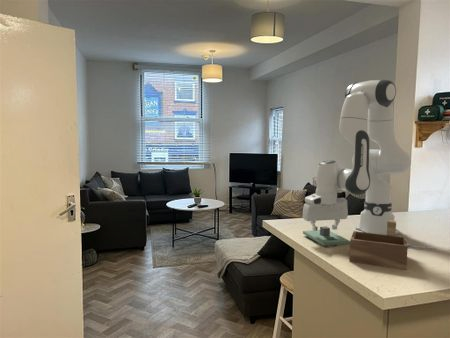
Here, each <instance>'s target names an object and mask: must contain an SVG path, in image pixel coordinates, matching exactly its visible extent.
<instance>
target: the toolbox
mask: <svg viewBox="0 0 450 338" xmlns="http://www.w3.org/2000/svg"><path fill="white" fill-rule="evenodd" d="M407 239H408V237H407V236H398V235H395V236H391V235H383V234H374V233H366V232H363V231H357V230H356V231H355V230H353V232H352V233H351V237H350V240H349V241H350V244H349V262H350V263H356V264H357V263H358V264H364V265H370V266H378V267H384V268H389V269H396V270H403V271H407V267H408V266H407V264H408V250H409V249H408V245H407V244H408V240H407Z"/></svg>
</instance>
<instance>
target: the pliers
mask: <svg viewBox="0 0 450 338" xmlns="http://www.w3.org/2000/svg"><path fill="white" fill-rule="evenodd" d="M407 245H408V250H414V249H415V250H417V251H420V250H421V248H422V249H428V248H429V249H430V250H436V249H437V248H436V247H431V246H426V245H425V246H424V245H412V244H411V243H407ZM429 249H428V250H429Z"/></svg>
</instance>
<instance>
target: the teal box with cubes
mask: <svg viewBox="0 0 450 338" xmlns="http://www.w3.org/2000/svg"><path fill="white" fill-rule="evenodd" d="M302 234H303V235H305V236H306V237H308V238H309V239H311V240H312V241H315V242H316V243H318V244H320V245H322V246H324V247H325V248H326V247H337V246H338V245H350V240H349V239H347V238H345V237H343V236H341V235H339V234H336V233H335V232H333V231H331V228H330V227H328V226H319V229H318V230H317V231H313V229H312V230H303V231H302Z"/></svg>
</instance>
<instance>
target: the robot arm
mask: <svg viewBox="0 0 450 338" xmlns="http://www.w3.org/2000/svg"><path fill="white" fill-rule="evenodd" d="M344 92H345V93H344V100H343V101H344V102H343V105H342V108H341V112H340V117H339V124H338V126H339V127H338V129H339V133H340V135H341V136H342V137H343V138H344V139H345V140H346V141H348V143H350V145H351V146H352V153H353V154H352V158H351V164H352V168H347V167H345V166H342V164H339V163H338V161H336V160H333V159H332V160H323V161H321V162H319V163H318V165H317V168H316V176H315V182H316V183H315V184H316V189H315V193H313V194H311V195H308V196H305V197H304V202H305V203H304V204H303V208H302V219H303V221H305V222H310V224H311V226H312V230H313V231H317V230H319V229H318V228H319V227H318V226H316V223H317V221H334V224H332V225H331V229H332V230H335V231H336V230H338V225H339V223H340V222H341V220H347V219H348V216H349V214H348V213H349V211H348V200H347V199H346V198H345V197H338V190H342V191H344V192H348V193H350V194H352V195H355V196H362V195H364V194H365V200H364V203H363V208H364V209H363V210H362V211H361V212H360V215H359V216H360V219H359V224H357V225H356V226H355V230H358V231H360V232H365V233H374V234H383V235H387V221H388V220H392V221H395V215H394V214H393V213H392V208H393V204H392V192H393V191H392V187H391V184H389V182H387V181H385V180H383V179H382V177H381V175H380V174H388V175H389V174H391V175H394V174H395V175H396V174H397V175H398V174H404V173H406V172H407V171H408V170H409V169H410V168H411V162H412V160H411V157H410V155H409V154H408V153H407V152H406V151H405V150H404V149H402V148H401V146H400V145H399V144H398V142H397V140H396V137H395V125H394V124H395V122H394V121H395V120H394V119H395V116H394V106H393V103H394V99H395V98H396V95H397V88H396V85H395V84H394V83H393V81H392V80H389V79H380V80H379V79H376V80H375V79H374V80H373V79H372V80H371V79H370V80H365V81H361V82H360V81H359V82H354V83H351V84H350V85H348V86H347V87H346V89H345V91H344ZM370 141H372V142H374V143H376V144H377V145H378V146H379V149H377V148H375V149H372V148H370ZM397 234H399V231H398V229H397V228H396V235H397Z"/></svg>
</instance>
